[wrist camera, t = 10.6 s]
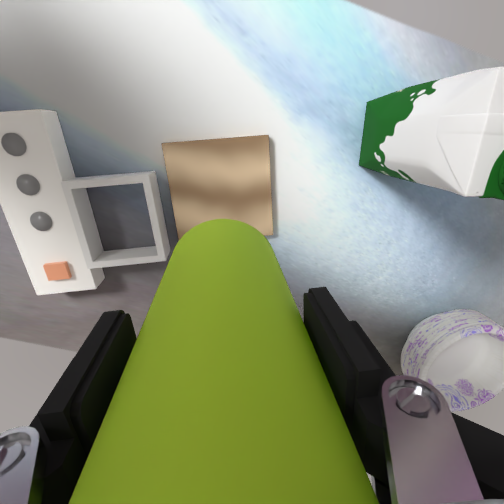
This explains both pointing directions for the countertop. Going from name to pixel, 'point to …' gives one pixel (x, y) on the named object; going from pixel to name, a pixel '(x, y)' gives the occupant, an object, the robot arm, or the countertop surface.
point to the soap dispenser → (223, 392)
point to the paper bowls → (457, 356)
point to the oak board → (220, 181)
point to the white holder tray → (62, 207)
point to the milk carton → (441, 134)
